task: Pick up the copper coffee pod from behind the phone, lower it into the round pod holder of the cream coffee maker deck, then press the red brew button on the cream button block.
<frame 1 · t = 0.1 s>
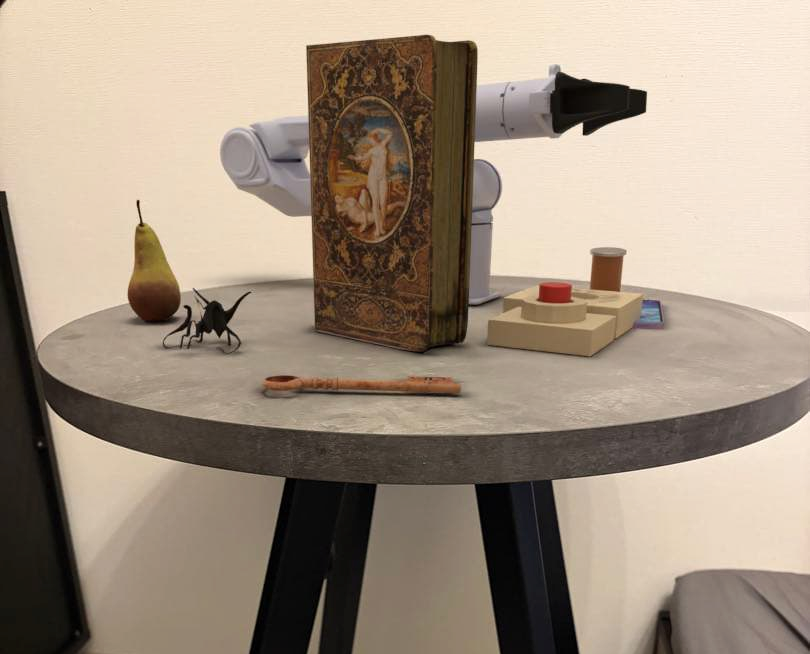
hand: (637, 99, 89), 22 cm above the table, tool horizontal, fingers open, 7 cm apart
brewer: (572, 324, 92), on the table
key: (362, 390, 67), on the table
book: (383, 339, 84), on the table
creature: (206, 349, 80), on the table
fruit: (157, 321, 91), on the table
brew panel: (551, 342, 83), on the table
smartphone: (627, 319, 98), on the table
brew button: (555, 294, 81), point 5 cm above the table, slide at 0.2 cm
pod: (604, 301, 105), on the table
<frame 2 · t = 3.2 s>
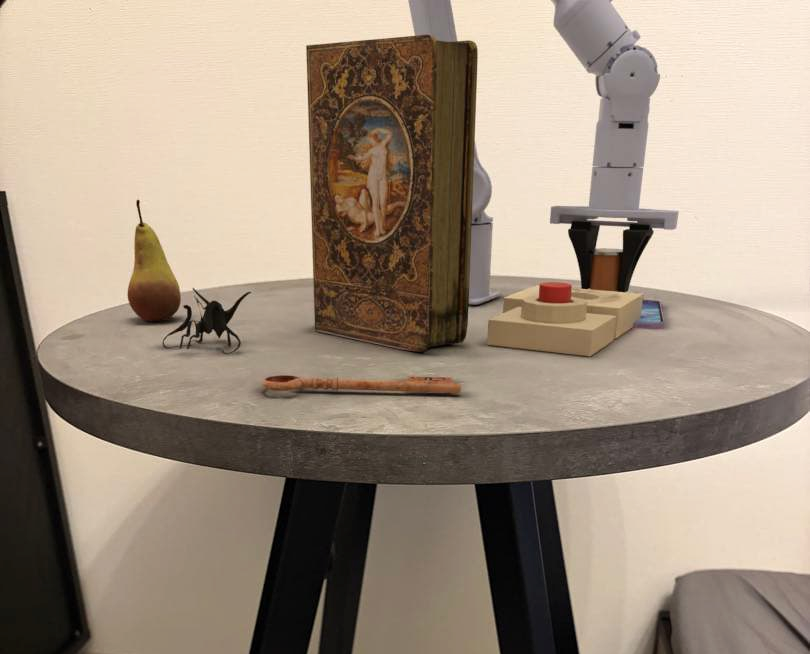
hand: (604, 290, 104), 1 cm above the table, tool pointing down, fingers closed on pod, 4 cm apart
pod: (603, 302, 105), on the table, touching gripper
everything else where it was.
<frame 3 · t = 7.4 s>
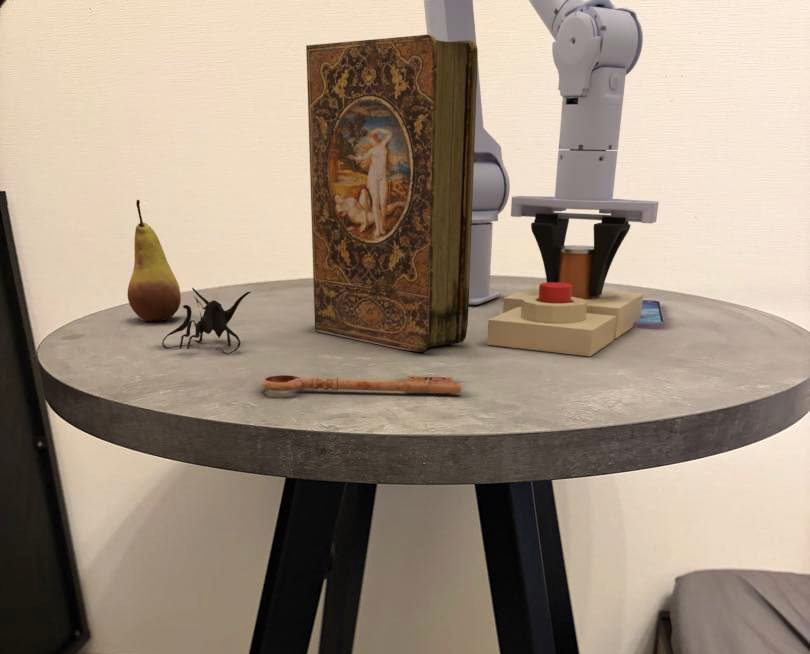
hand: (574, 293, 90), 3 cm above the table, tool pointing down, fingers closed on pod, 4 cm apart
pod: (573, 307, 91), point 2 cm above the table, touching gripper
everything else where it was.
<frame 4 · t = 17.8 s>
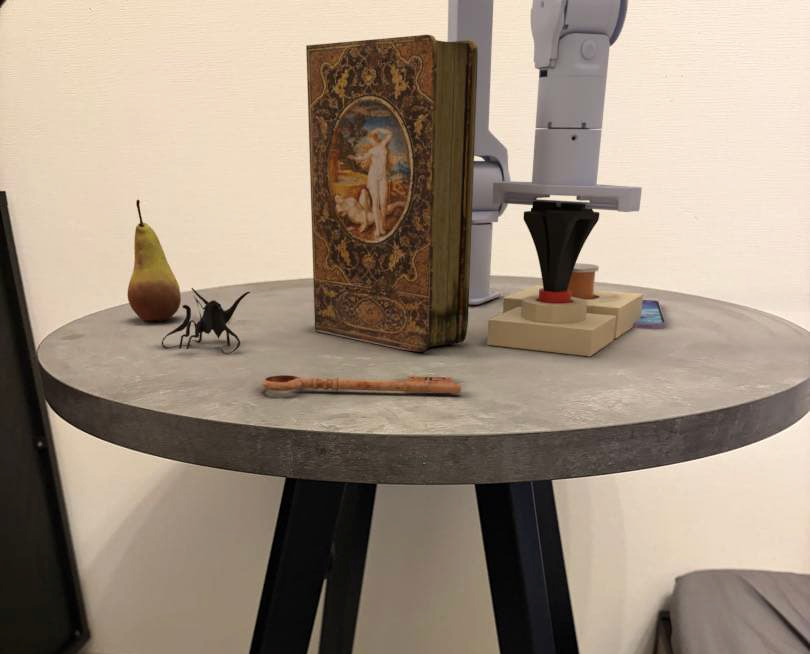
hand: (555, 290, 81), 5 cm above the table, tool pointing down, fingers closed, pressing on brew button
brew button: (554, 299, 81), point 4 cm above the table, slide at -0.3 cm, touching gripper
pod: (572, 324, 92), resting in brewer
everything else where it was.
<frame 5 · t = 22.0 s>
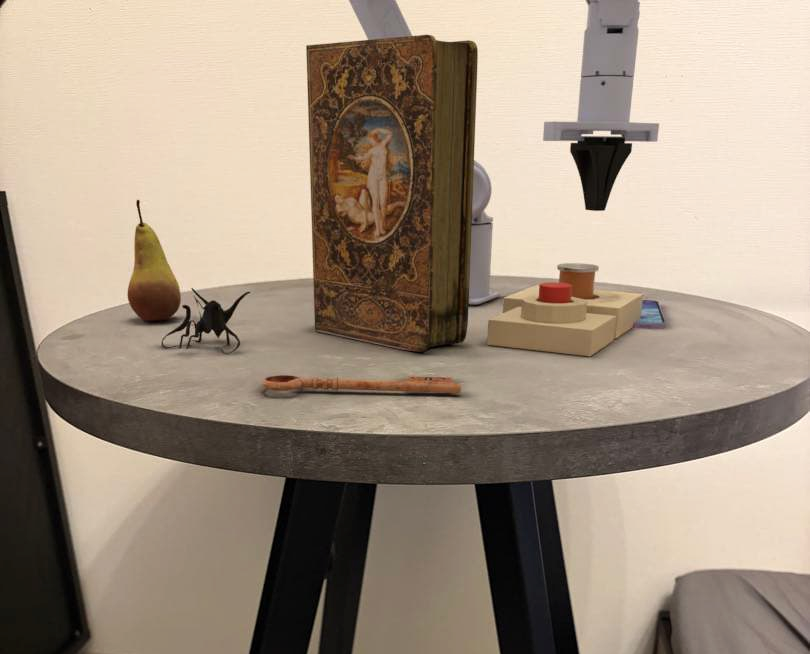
hand: (595, 210, 101), 10 cm above the table, tool pointing down, fingers closed
brew button: (555, 294, 81), point 5 cm above the table, slide at 0.2 cm
everything else where it was.
at the end: pod 0.1 cm off-centre in the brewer, point 0.0 cm above the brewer's base; brew button pushed in 1.0 cm at the most during the clip, back to 0.2 cm at the end; brew button slide at 0.2 cm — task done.
